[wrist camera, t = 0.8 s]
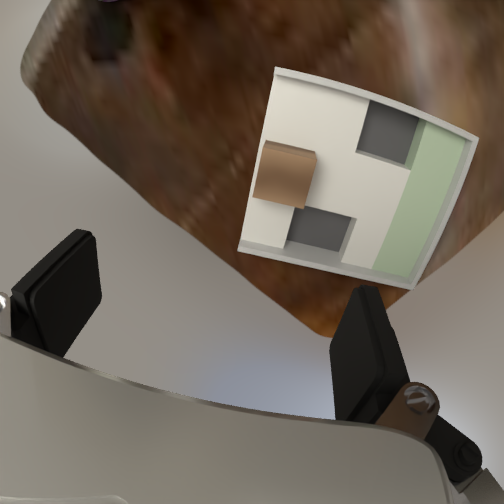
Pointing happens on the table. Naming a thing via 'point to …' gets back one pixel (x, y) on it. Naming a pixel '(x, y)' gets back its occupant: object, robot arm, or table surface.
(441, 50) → the table surface
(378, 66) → the table surface
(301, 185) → the walnut block
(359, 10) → the table surface
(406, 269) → the box
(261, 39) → the table surface
